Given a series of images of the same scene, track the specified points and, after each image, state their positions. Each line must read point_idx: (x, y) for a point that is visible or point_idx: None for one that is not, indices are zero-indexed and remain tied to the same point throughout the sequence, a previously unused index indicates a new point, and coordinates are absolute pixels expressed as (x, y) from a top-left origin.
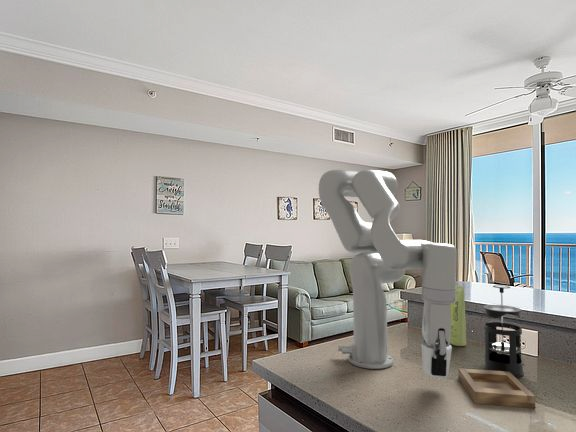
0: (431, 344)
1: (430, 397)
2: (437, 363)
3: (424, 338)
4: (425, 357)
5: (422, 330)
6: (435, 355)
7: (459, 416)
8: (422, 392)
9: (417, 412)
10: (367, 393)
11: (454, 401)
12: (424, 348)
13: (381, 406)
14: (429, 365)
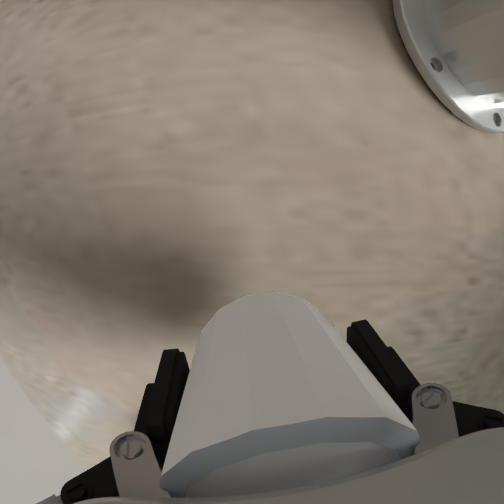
0: (288, 482)
1: (152, 290)
2: (140, 427)
3: (295, 497)
4: (211, 371)
5: (489, 470)
6: (113, 461)
7: (54, 368)
8: (193, 257)
9: (10, 239)
10: (105, 21)
11: (156, 372)
12: (210, 423)
13: (10, 104)
14: (193, 364)
